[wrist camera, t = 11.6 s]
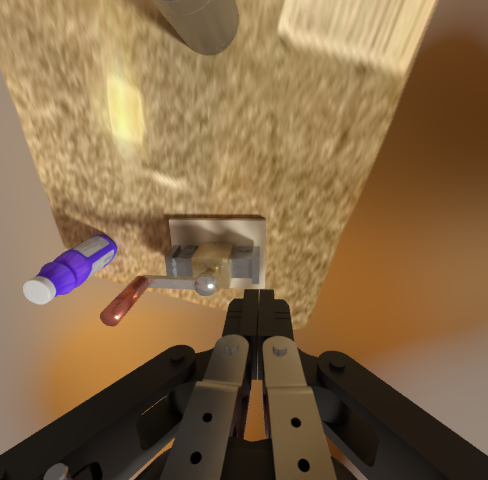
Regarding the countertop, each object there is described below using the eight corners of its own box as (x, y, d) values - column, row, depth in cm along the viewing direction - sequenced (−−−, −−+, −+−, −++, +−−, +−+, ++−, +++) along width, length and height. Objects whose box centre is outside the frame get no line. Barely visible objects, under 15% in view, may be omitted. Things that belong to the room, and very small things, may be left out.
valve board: (178, 282, 56) (176, 286, 55) (171, 217, 52) (168, 219, 50) (264, 285, 55) (264, 288, 53) (265, 218, 50) (265, 220, 49)
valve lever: (217, 290, 43) (202, 334, 33) (139, 286, 44) (102, 328, 34) (216, 272, 42) (201, 312, 32) (136, 269, 43) (97, 306, 33)
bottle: (101, 227, 54) (28, 264, 37) (124, 245, 55) (63, 290, 38) (83, 251, 56) (7, 296, 39) (106, 268, 57) (41, 320, 40)
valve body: (179, 267, 53) (160, 294, 44) (176, 241, 52) (156, 262, 42) (259, 269, 52) (258, 297, 43) (260, 242, 50) (258, 265, 41)
